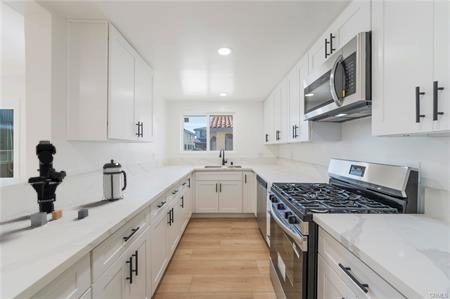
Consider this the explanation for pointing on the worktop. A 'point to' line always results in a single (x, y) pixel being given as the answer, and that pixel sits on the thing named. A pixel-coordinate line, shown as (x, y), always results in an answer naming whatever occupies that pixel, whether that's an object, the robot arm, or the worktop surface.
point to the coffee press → (113, 180)
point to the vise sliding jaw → (56, 214)
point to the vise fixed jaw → (82, 213)
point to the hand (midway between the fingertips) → (47, 197)
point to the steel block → (38, 219)
